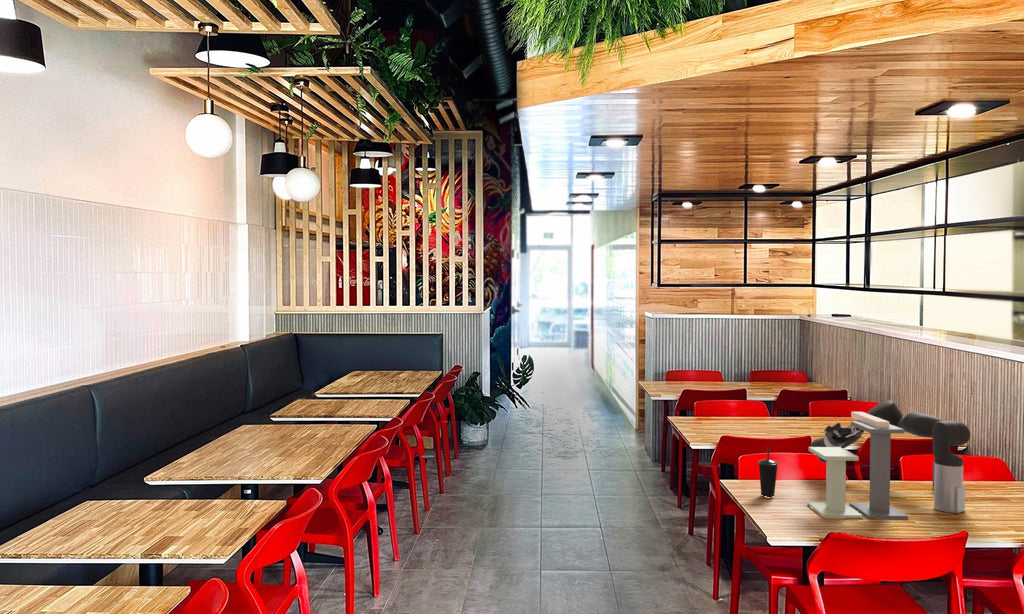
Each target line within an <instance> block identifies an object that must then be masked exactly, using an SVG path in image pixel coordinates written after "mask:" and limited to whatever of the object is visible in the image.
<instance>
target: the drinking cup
mask: <svg viewBox="0 0 1024 614" xmlns="http://www.w3.org/2000/svg"><path fill="white" fill-rule="evenodd" d="M766 454H767V455H766V457H767V458H763V459H760V460H758V461H757V463H758V472H759V483H760V494H761V495H763V496H767V497H772V496H774V497H775V492H776V484H777V483H776V481H777V474H778V473H777V471H778V466H779V462H777V461H776V460H774V459H770V446H767V451H766ZM761 495H760V496H761Z"/></svg>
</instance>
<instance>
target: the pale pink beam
mask: <svg viewBox="0 0 1024 614" xmlns="http://www.w3.org/2000/svg"><path fill="white" fill-rule="evenodd" d="M850 412H851V413H850V414H851V415H850V416H851V419H855V420H856V421H857V420H859V421H862V422H864V423H867V424H869V425H872V426H874V427H877V428H889V421H886V420H883V419H881V418H878V417H875V416H872V415H870V414H867V412H863V411H850Z"/></svg>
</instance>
